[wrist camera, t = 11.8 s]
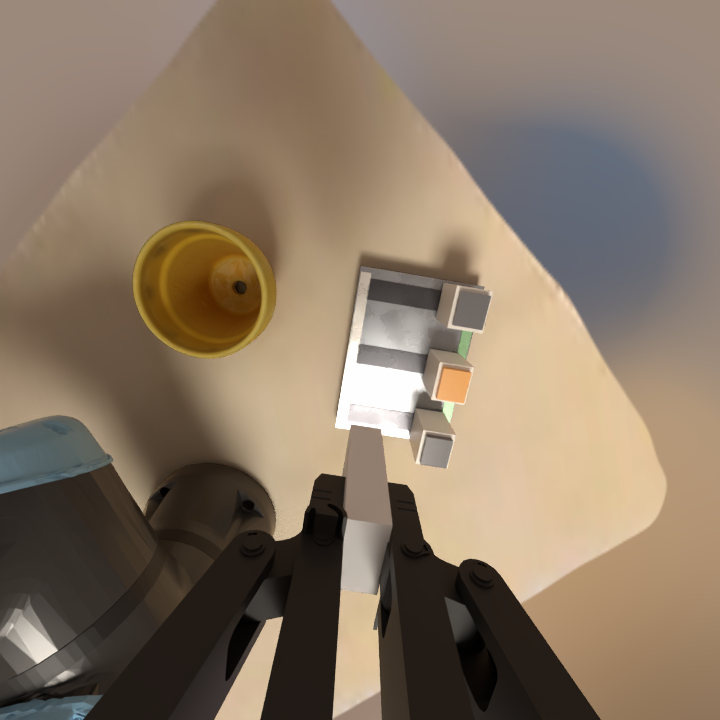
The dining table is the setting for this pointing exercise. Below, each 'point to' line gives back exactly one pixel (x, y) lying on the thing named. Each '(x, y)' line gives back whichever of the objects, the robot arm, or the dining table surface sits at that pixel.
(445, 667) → the robot arm
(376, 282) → the panel
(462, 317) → the breaker
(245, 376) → the dining table surface
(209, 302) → the plant pot
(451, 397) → the block
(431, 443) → the block
